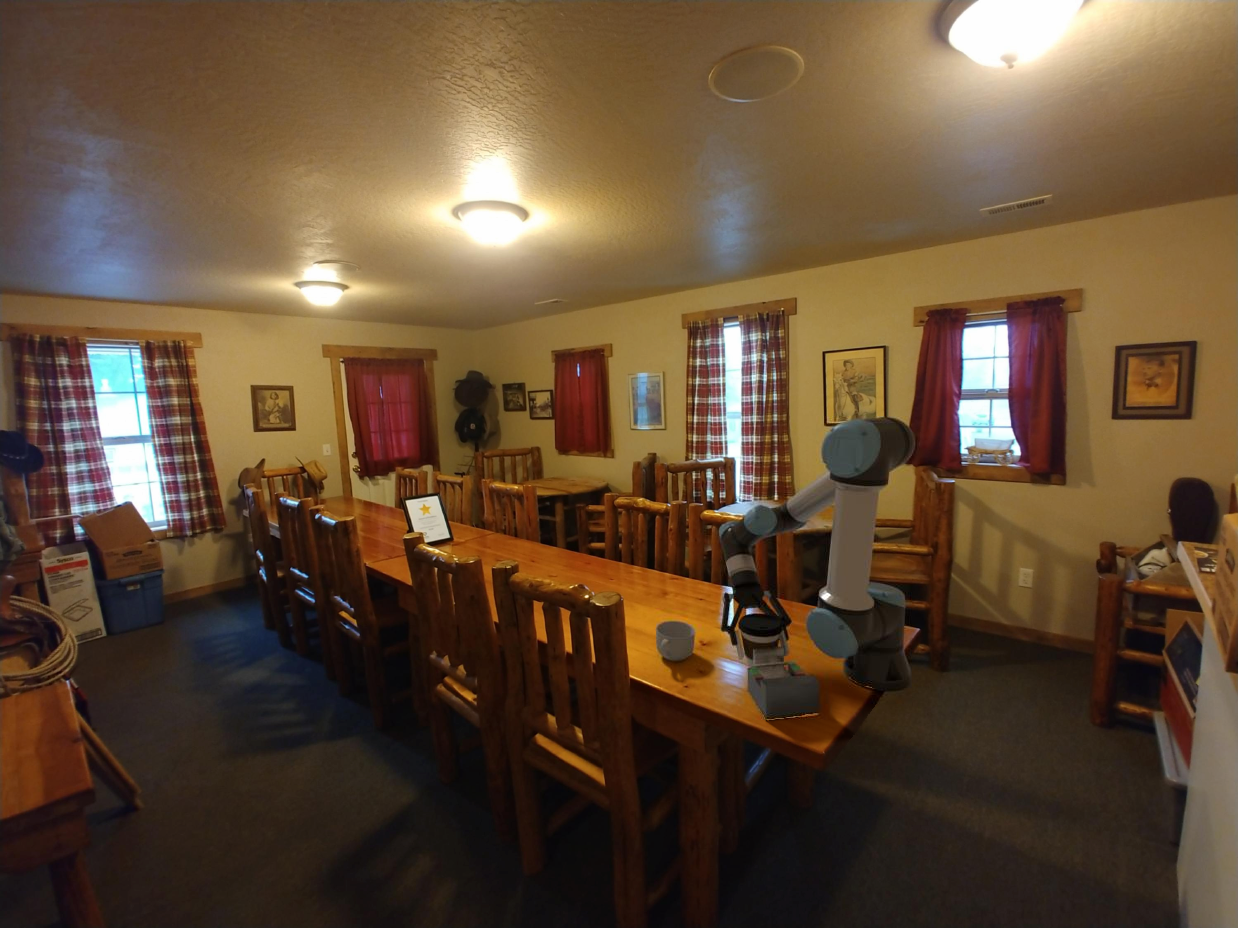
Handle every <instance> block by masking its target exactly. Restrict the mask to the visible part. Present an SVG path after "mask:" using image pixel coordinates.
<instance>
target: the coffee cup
mask: <svg viewBox="0 0 1238 928" xmlns="http://www.w3.org/2000/svg"><path fill="white" fill-rule="evenodd" d="M737 624H738V625H737V626H738V630H739V631H741V633H740V635H741V636H740V637H741V643H742V648H743V652H744V656H745V660H746V664H747V666H748V668H751V667H750V665H753V649H757V648H768V647H779V644H780V641H779V638H780V637H779V634H780V633H781V632H782V631H783V628H782V624H781V623H780V621H779V620H778V619H777V618H776V617H773V616H771V615H767V614H764V613H760V612H758V613H757V612H756V613H755V612H754V613H748V614H745V615H743V616H741V618H739V620H738V622H737Z"/></svg>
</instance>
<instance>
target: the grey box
mask: <svg viewBox="0 0 1238 928" xmlns="http://www.w3.org/2000/svg"><path fill="white" fill-rule="evenodd" d="M787 670H788V672H789V673H790V674H791V675H792V677H781V678H771V679H763V676H762V675H761V673H760V672H759V670H758V669H757V668H749V667H747V692H749V693H750V694H749V693H748V694H749V696H750V695H751V696H750V697H752V698H753V699H752V698H751V699H752V700H754V701H755V703H756V704H755V703H754V704H755V706H756V705H757V706H758V708H759V709H760V711H761V712H762V714H763V715H764V717H765V719H775V718H786V717H793V716H802V715H805V714H813V713H819V711H820V710H819V708H820V707H819V706H820V705H819V704H820V703H819V701H820V681H818V679H817V678H816V677H815V676H814V674H807V675H806V672H805V671H804V670H803V669H802V668H801V666H799V664H797V663H796V664H792V665H787ZM754 701H753V702H754ZM757 706H756V707H757ZM758 708H757V709H758ZM759 709H758V710H759ZM760 711H759V712H760ZM761 712H760V713H761ZM762 714H761V715H762ZM764 717H763V718H764ZM765 719H764V720H765Z"/></svg>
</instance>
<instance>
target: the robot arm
mask: <svg viewBox="0 0 1238 928" xmlns="http://www.w3.org/2000/svg"><path fill="white" fill-rule="evenodd" d="M915 438H916V437H915V435H914V432H913V431H912V429H911V428H910V426H909V425H908V424H906V423H905V422H904V421H902V420H901V419H898V418H895V417H891V416H881V417H872V418H861V419H860V418H858V419H856V418H855V419H849V420H847V421H844V422H840V423H837V424H836V425H834V426H833V427H831V428H830V430H829V431H828V432H827V433H826V434H825V436H824V438H823V440H822V442H821V443H822V444H821V447H820V453H821V459H822V463H823V464H825V469H826V470H827V471H825V472H824V473H823V474H822V475H820V476H818V477H817V478H816V479H815V480H813V481H811V483H809V484H807V486H805V487H803V488H802V489H801V490H799V491H798V492H797V493H795V494H794V495H793V496H791V497H790V498H789V499H788V500H786V501H785V502H783V503H782V504H781V505H778V506H775V507H769V506H766V505H762V504H758V505H757V504H756V506H754V507H753V508H751V509H749V510H748V511H747V512H746V514H744V516H742V517H741V519H739V520H738V521H737V520H731V521H727V522H726V523H723V524H722V525H721V526H719V528H718V534H719V542H720V545H721V548H722V553H723V556H724V560H725V564H726V568H727V572H728V576H729V577H730V578H729V581H730V585H731V589H732V593H728V592H724V594H723V596H722V601H723V610H722V617H721V624H720V625H721V626H720V631H721V632H722V633H725V632H726V633H727V634H728V635H729V638H730V644H731V645H732V646H733V647H734V646H735V648H736V649H735V650H736V652H737V656H738V660H739V661H743V659H745V653H744V647H743V643H742V638H741V636H740V635H741V634H740V632H739V631H740V630H739V629H736V627H737V626H738V625H737V624H738V622H739V621H740V617H741V614H742V611H743V609H745V610H748V609H758V610H759V611H761V613H762V614H767V615H771V616H773V617H776V618H777V619H778V620H779V621H780V623H781V624H782V628H783V631H782V632H781V633H780V634H779V637H780V638H779V644H780V646H782V647H783V648H784V657H786V656H788V655H789V654H790V653H791V652H790V648H789V645H788V641H789V639H790V636H789V632H788V630H787V628H788V627H789V626H790V625H791V624H792V623H793V622H792V619H791V617H790V616H789V613H787V612H786V610H785V609H784V607H783V606H782V604H781V603H780V600H779V599H778V598H777V596H776V592H775V590H774V588H771V589H770V590H763V588H762V586H761V582H760V579H759V576H758V575H759V574H758V572H757V568H756V567H757V566H756V565H755V561H754V557H753V555H752V547H754V546H755V545H756V544H758V543H759V542H760V541H761V540H762V539H766V538H768V537H773V536H777V535H781V534H785V533H789V532H795V531H798V530H800V529H802V528H804V527H805V526H806V525H807V523H808V521H809V520H810V519H812V518H813V517H815V516H817V515H818V514H819V513H821V512H823V511H824V510H826V509H827V508H829V507H830V506H832V505H833V504H834V506H833V516H832V524H831V525H832V527H831V537H830V538H831V539H830V549H829V560H828V571H827V581H826V585H825V586H824V587H821V589H819V592H818V601H817V607H815V608H814V609H812V610H810V612H809V613H808V614H807V617H806V621H805V625H806V626H805V627H806V631H807V634H808V637H809V638H810V640H812V642H813V644H814V645H815V647H816V648H817V649H818V650H819V651H821V653H823V654H824V655H826V656H827V657H830V658H833V659H838V660H839V659H843V660H842V661H843V664H842V671H843V670H844V671H843V673H844V672H845V673H844V675H845V674H846V675H847V676H848V677H850V678H851V679H852V680H854V681H856V682H857V683H859V684H861V685H863V686H869V687H872V688H874V689H875V690H874V691H879V692H889V693H890V692H901V691H904V690H906V689H907V688H908V687H910V686H911V683H912V672H911V671H912V670H911V668H910V664H909V662H908V659H907V656H906V654H905V653H906V652H905V649H904V647H905V625H906V624H905V623H906V621H905V620H906V619H905V617H906V616H905V615H906V599H905V598H906V597H905V594H904V593H903V591H901V590H900V589H899V588H897V587H894V586H892V585H888V584H885V583H879V582H874V581H870V577H871V576H870V574H871V567H872V558H873V551H874V550H873V548H874V540H875V532H876V531H875V530H876V523H877V516H878V515H877V514H878V503H879V495H880V491H881V490H883V489H884V488H886V487H887V486H888V485H889V477H890V472H892V471H894V470H896V469H897V468H899V467H901V466H902V465H904V464H905V463H907V462H908V461H909V459H910V458H911V457H912V455H913V454H914V450H915V448H916V447H915V446H916V439H915ZM764 597H765V598H766V600H768V602H769V604H770V605H771V606H772V608H773V609H772V608H771V607H770V606H769V605H768V603H767V601H766V600H764ZM732 601H735V602H736V603H737V604H738V605H737V608H736V610H735V613H734V616H733V618H732V621H731V623H730V625H729V615H730V609H731V608H730V607H731V602H732ZM846 675H845V676H846ZM847 676H846V677H847ZM848 677H847V678H848ZM852 680H851V681H852ZM859 684H858V685H859ZM861 685H860V686H861ZM863 686H862V687H863Z"/></svg>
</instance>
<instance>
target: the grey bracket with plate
mask: <svg viewBox="0 0 1238 928" xmlns="http://www.w3.org/2000/svg"><path fill="white" fill-rule="evenodd" d="M784 657H785V656H784V648H783V647H782V646H781V645H780V646H778V647H768V648H757V649H753V665H750V667H751V668H757V669H758V670H759V672H760V673H761V675H762V676H763V679H771V678H781V677H792V675H791V674H790V673H789V672H788V668H786V666H788V665H792V664H797V661H796V660H791V661H785V658H784Z"/></svg>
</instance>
